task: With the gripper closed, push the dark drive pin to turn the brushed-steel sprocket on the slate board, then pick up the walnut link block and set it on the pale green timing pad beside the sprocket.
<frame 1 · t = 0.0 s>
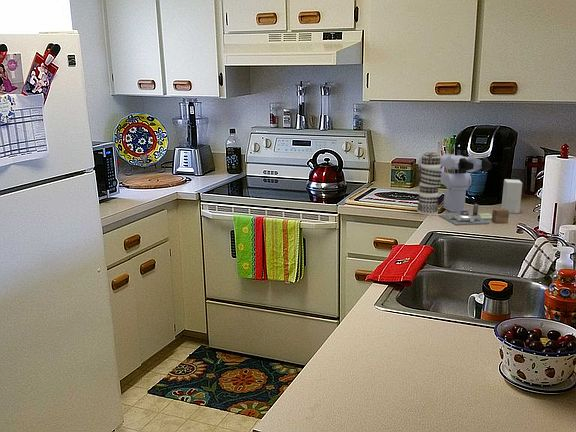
hand: (481, 166, 238), 22 cm above the worktop, tool horizontal, fingers open, 7 cm apart
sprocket: (465, 211, 243), point 4 cm above the worktop, hinge at 0.0°
small box: (510, 211, 260), on the worktop
timing pad: (485, 217, 249), on the worktop
link block: (499, 222, 241), on the worktop
slate board: (463, 219, 244), on the worktop
decorative candle: (427, 212, 256), on the worktop
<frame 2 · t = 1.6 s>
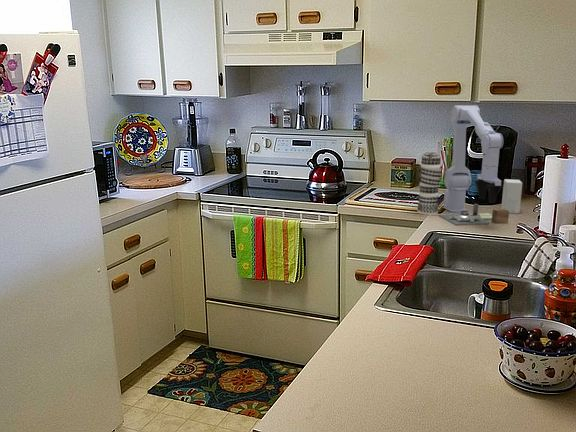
hand: (486, 200, 235), 9 cm above the worktop, tool pointing down, fingers open, 7 cm apart
nothing on the worktop moved.
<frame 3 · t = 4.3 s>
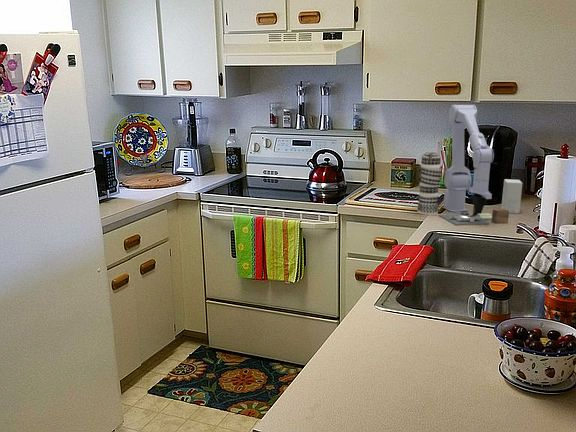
hand: (478, 213, 242), 3 cm above the worktop, tool pointing down, fingers closed, pressing on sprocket
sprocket: (465, 211, 243), point 4 cm above the worktop, hinge at 0.0°, touching gripper
everything else where it was.
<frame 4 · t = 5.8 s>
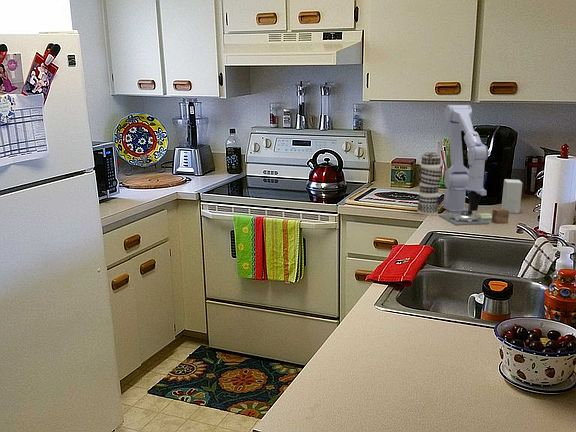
hand: (473, 210, 245), 4 cm above the worktop, tool pointing down, fingers closed, pressing on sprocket
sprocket: (465, 211, 243), point 4 cm above the worktop, hinge at 36.3°, touching gripper
everything else where it was.
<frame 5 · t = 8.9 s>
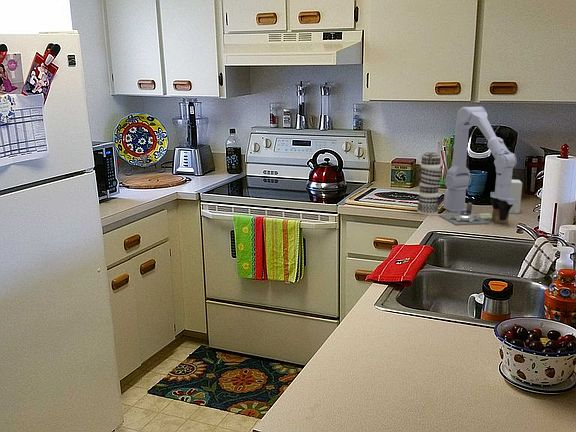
hand: (500, 218, 241), 1 cm above the worktop, tool pointing down, fingers closed on link block, 3 cm apart
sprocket: (465, 211, 243), point 4 cm above the worktop, hinge at 41.7°
link block: (499, 222, 241), on the worktop, touching gripper
everything else where it was.
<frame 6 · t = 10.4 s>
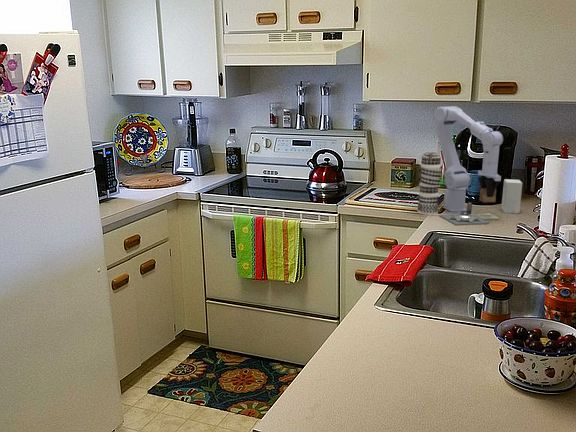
hand: (487, 195, 247), 9 cm above the worktop, tool pointing down, fingers closed on link block, 3 cm apart
link block: (487, 201, 247), point 7 cm above the worktop, touching gripper
everything else where it was.
when the fingers open (3 cm above the worktop, at t = 11.8 s): link block stays where it is, resting on timing pad.
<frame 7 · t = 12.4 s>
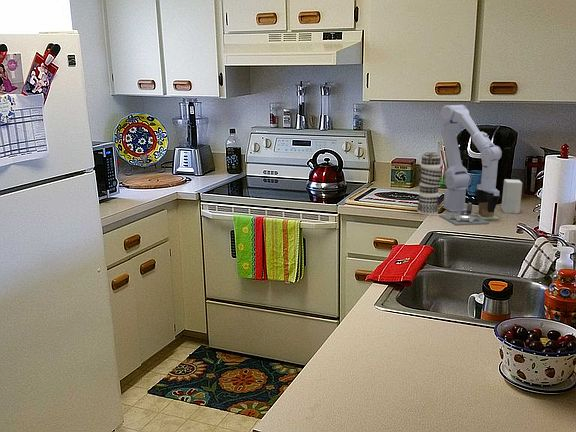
hand: (486, 209, 248), 3 cm above the worktop, tool pointing down, fingers open, 7 cm apart
link block: (486, 215, 249), point 1 cm above the worktop, touching timing pad
everything else where it was.
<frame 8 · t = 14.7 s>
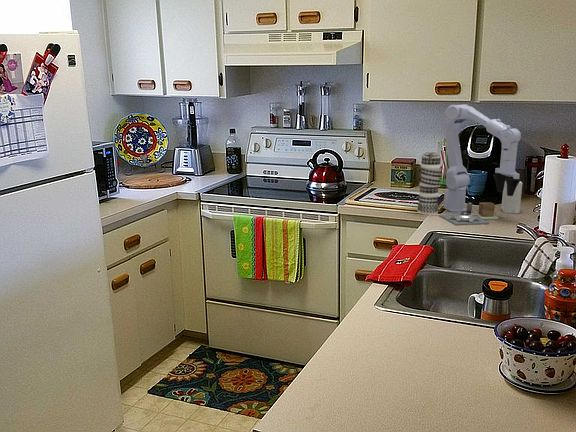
hand: (505, 193, 243), 10 cm above the worktop, tool pointing down, fingers open, 7 cm apart
nothing on the worktop moved.
at the end: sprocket at +42° (first picture: +0°); link block inside the target area on the timing pad (0.2 cm from its centre), point 0.7 cm above the timing pad's base; link block tilted 0° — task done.
